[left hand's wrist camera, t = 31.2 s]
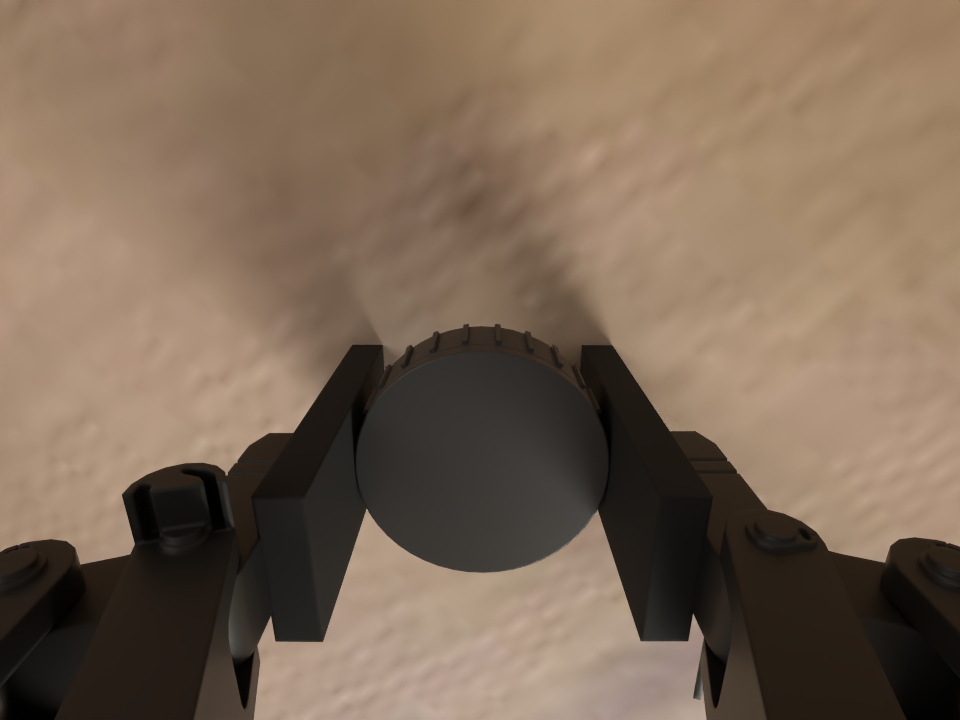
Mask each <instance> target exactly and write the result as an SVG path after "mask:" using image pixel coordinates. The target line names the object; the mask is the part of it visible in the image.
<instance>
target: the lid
mask: <svg viewBox="0 0 960 720" xmlns="http://www.w3.org/2000/svg"><path fill="white" fill-rule="evenodd" d="M363 413H364V414H366V417H365V419H364V421H363V423H362V426H361V428H360V431H359V434H358V436H357V438H358V439H357V442H356V451H355V473H356V478H357V484H358V487H359V490H360V493H361V496H362V499H363V501H364V503H365V505H366V507H367V509H368V511H369V513H370V514H371V516H372V517H373V519H374V520H375V522H376V523H377V525H378V526H379V527H380V528H381V529H382V530H383V531H384V532H385V533H386V535H387V536H389V537H390V538H391V539H392V540H393V541H394V542H395V543H397V544H398V545H399V546H401V547H402V548H404V549H405V550H407V551H408V552H409V553H411V554H413V555H415V556H417V557H419V558H421V559H423V560H425V561H427V562H430V563H433V564H435V565H438V566H441V567H445V568H449V569H453V570H459V571H465V572H481V573H486V572H500V571H506V570H512V569H517V568H520V567H524V566H527V565H530V564H533V563H535V562H538V561H540V560H543V559H545V558H547V557H548V556H550V555H552V554H554V553H556V552H557V551H559V550H560V549H562V548H563V547H564V546H566V545H567V544H569V543H570V542H571V541H572V540H573V539H574V538H575V537H576V536H578V535H579V534H580V532H581V531H582V530H583V529H584V528H585V527H586V526H587V524H588V523H589V522H590V520H591V519H592V517H593V516H594V514H595V513H596V511H597V509H598V507H599V505H600V503H601V501H602V499H603V496H604V493H605V489H606V486H607V482H608V476H609V469H610V454H609V447H608V441H607V434H606V432H605V430H604V428H603V425H602V422H601V420H600V418H599V415H598V414H600V413H602V412H601V409H600V407H599V405H598V403H597V400H596V398H595V396H594V394H593V391H592V389H591V388H589V389H587V388H586V385H585V382H584V380H583V378H582V375H581V373H580V370H579V368H578V367H577V365H576V364H575V365H574V366H572V365H571V364H570V363H569V362H568V361H567V360H566V359H565V358H564V357H563V356H562V355H560V354H559V351H558V348H557V347H556V346H555V345H553V346H552V347H550V346H548V345H547V344H545V343H543V342H542V341H540V340H538V339H536V338H533V337H532V336H531V333H530V332H528V331H526V332H525V334H523V333H520V332H517V331H514V330H509V329H504V328H501V326H500V324H495V327H482V326H480V327H469V324H465V325H464V326H463V328H460V329H455V330H451V331H447V332H444V333H441V334H439V332H438V331H437V332H434V333H433V337H431V338H429V339H427V340H425V341H423V342H421V343H419V344H418V345H416V346H415V347H412V346H411V345H410V346H408V347H407V349H406V352H405V354H404V355H403V356H402V357H401V358H400V359H398V360H397V361H396V363H395V364H394V365H393V366H391V365H388V366H387V367H386V369H385V372H384V374H383V376H382V378H381V381H380V383H379V385H378V389H375V388H373V391H372V393H371V395H370V397H369V399H368V402H367V404H366V406H365V408H364V410H363Z"/></svg>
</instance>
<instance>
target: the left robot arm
mask: <svg viewBox="0 0 960 720" xmlns="http://www.w3.org/2000/svg"><path fill="white" fill-rule="evenodd" d="M580 373H581V375H582V378H583V380H584V382H585V385H586V388H587V389H589V388H591V389H592V391H593V394H594V396H595V398H596V400H597V403H598V405H599V407H600V409H601V412H602V413H600V414H598V415H599V418H600V420H601V422H602V425H603V428H604V430H605V432H606V434H607V441H608V447H609V454H610V469H609V476H608V482H607V486H606V489H605V493H604V496H603V499H602V501H601V503H600V505H599V507H598V511H599V515H600V518H601V521H602V524H603V527H604V530H605V533H606V536H607V539H608V542H609V545H610V548H611V551H612V554H613V557H614V561H615V564H616V567H617V570H618V573H619V576H620V579H621V582H622V585H623V588H624V591H625V594H626V597H627V600H628V603H629V607H630V610H631V613H632V616H633V619H634V622H635V625H636V628H637V631H638V634H639V637H640V640H641V641H688V639H689V633H690V627H691V622H692V616H693V614H694V616H695V618H696V620H697V622H698V625H699V627H700V629H701V631H702V633H703V635H704V641H703V646H702V652H701V657H700V662H699V668H698V673H697V678H696V684H695V690H694V697H693V698H695V699H699V700H701V697H702V691H703V692H704V701H705V709H706V718H707V720H960V547H959V546H956V545H953V544H950V543H949V544H947V543H946V542H943V541H938V540H931V539H923V538H915V537H914V538H907V539H899V540H898V541H896V542H895V543H894V544H892V545H891V546H890V549H889V552H888V556H887V559H886V562H885V563H883V562H878V561H873V560H868V559H863V558H858V557H853V556H848V555H843V554H839V553H835V552H831V551H828V549H827V547H826V545H825V543H824V542H823V540H822V539H821V538H820V536H819V535H818V534H817V533H816V532H815V531H814V530H813V529H811V528H810V527H808V526H807V525H806V524H804V523H803V522H801V521H799V520H797V519H795V518H792V517H790V516H788V515H785V514H783V513H779V512H775V511H770V510H768V509H767V508H766V507H765V506H764V504H763V503H762V502H761V501H760V499H759V498H758V497H757V496H756V494H755V493H754V492H753V491H752V489H751V488H750V487H749V486H748V484H747V483H746V482H745V481H744V479H743V478H742V477H741V475H740V474H737V470H736V469H735V468H734V467H733V465H732V464H731V463H730V462H729V461H727V458H726V457H725V455H724V454H723V453H722V452H721V450H720V449H719V448H718V446H717V445H716V444H715V443H713V442H712V441H710V440H708V439H707V438H705V437H704V436H702V435H700V434H699V433H697V432H696V431H669V430H668V428H667V427H666V425H665V424H664V422H663V421H662V419H661V418H660V416H659V415H658V413H657V412H656V410H655V409H654V407H653V406H652V404H651V403H650V401H649V400H648V398H647V397H646V395H645V394H644V392H643V391H642V389H641V388H640V386H639V385H638V383H637V382H636V380H635V379H634V377H633V376H632V374H631V373H630V371H629V370H628V368H627V367H626V365H625V364H624V362H623V361H622V359H621V358H620V356H619V355H618V353H617V352H616V350H615V349H614V347H613V346H612V345H582V355H581V370H580ZM383 374H384V360H383V345H352V346H351V348H350V349H349V351H348V352H347V354H346V355H345V357H344V358H343V360H342V361H341V363H340V364H339V366H338V367H337V369H336V370H335V372H334V373H333V375H332V376H331V378H330V379H329V381H328V382H327V384H326V385H325V387H324V388H323V390H322V391H321V393H320V394H319V396H318V397H317V399H316V400H315V402H314V403H313V405H312V406H311V408H310V409H309V411H308V412H307V414H306V415H305V417H304V418H303V420H302V421H301V423H300V424H299V426H298V427H297V429H296V430H295V432H294V433H269V434H267V435H265V436H264V437H262V438H261V439H259V440H257V441H256V442H254V443H253V444H251V445H250V446H249V447H248V448H247V449H246V450H245V452H244V453H243V454H242V455H241V457H240V458H239V459H238V463H235V464H234V466H233V467H232V468H231V469H230V471H229V472H228V476H226V475H225V472H224V471H223V470H222V469H220V468H219V467H218V466H215V465H211V464H206V463H185V464H180V465H176V466H171V467H166V468H163V469H161V470H158V471H155V472H153V473H150V474H148V475H146V476H144V477H143V478H141V479H139V480H138V481H136V482H134V483H133V484H131V485H130V486H129V488H128V489H127V490H126V491H125V492H124V493H123V494H122V497H123V501H124V504H125V508H126V512H127V516H128V519H129V523H130V527H131V531H132V534H133V538H134V542H135V546H134V548H133V550H132V552H131V554H130V555H126V556H122V557H117V558H112V559H107V560H102V561H97V562H92V563H87V564H82V565H80V562H79V559H78V556H77V553H76V549H75V548H74V547H73V546H72V545H71V544H69V543H68V542H67V541H60V540H53V539H49V540H41V541H33V542H27V543H23V544H20V545H16V546H13V547H10V548H7V549H5V550H3V551H2V552H0V720H254V711H255V702H256V693H257V684H258V676H259V667H260V659H259V652H258V646H257V645H258V643H259V640H260V638H261V636H262V634H263V632H264V630H265V627H266V625H267V623H268V621H269V619H270V616H271V617H272V623H273V629H274V635H275V641H287V642H323V640H324V637H325V634H326V631H327V628H328V625H329V622H330V619H331V616H332V612H333V609H334V606H335V603H336V600H337V597H338V594H339V591H340V588H341V585H342V582H343V579H344V576H345V573H346V570H347V567H348V564H349V561H350V558H351V554H352V551H353V548H354V545H355V542H356V539H357V536H358V533H359V530H360V527H361V524H362V521H363V518H364V515H365V512H366V509H367V507H366V505H365V503H364V501H363V499H362V496H361V493H360V490H359V487H358V484H357V478H356V473H355V451H356V442H357V439H358V438H357V436H358V434H359V431H360V428H361V426H362V423H363V421H364V419H365V417H366V414H364V413H363V410H364V408H365V406H366V404H367V402H368V399H369V397H370V395H371V393H372V391H373V388H375V389H378V385H379V383H380V381H381V378H382V376H383Z"/></svg>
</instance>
